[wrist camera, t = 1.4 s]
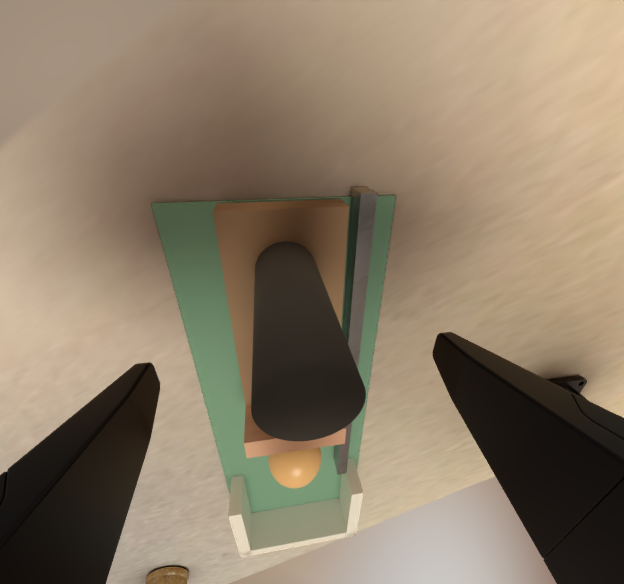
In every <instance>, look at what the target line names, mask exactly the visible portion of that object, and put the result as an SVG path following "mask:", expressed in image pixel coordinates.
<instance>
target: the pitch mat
mask: <svg viewBox="0 0 624 584" xmlns="http://www.w3.org/2000/svg"><path fill="white" fill-rule="evenodd" d="M328 199H342V200H343V201H344V202H345V203H346V204H347V205H348V206H349V216H348V232H347V247H346V262H345V278H344V293H343V308H342V323H341V328H342V327H343V312H344V297H345V283H346V268H347V253H348V239H349V224H350V209H351V196H348V197H318V198H288V199H259V200H229V201H200V202H170V203H152V204H151V206H152V209H153V213H154V217H155V220H156V224H157V228H158V231H159V235H160V239H161V242H162V246H163V250H164V253H165V257H166V261H167V265H168V268H169V272H170V276H171V279H172V283H173V287H174V290H175V294H176V298H177V301H178V305H179V309H180V312H181V316H182V320H183V323H184V327H185V331H186V334H187V338H188V342H189V345H190V349H191V353H192V356H193V360H194V364H195V367H196V371H197V375H198V378H199V382H200V386H201V389H202V393H203V397H204V400H205V404H206V408H207V412H208V415H209V419H210V423H211V426H212V430H213V434H214V437H215V441H216V445H217V448H218V452H219V456H220V459H221V463H222V467H223V470H224V474H225V478H226V481H227V485H228V489H229V492H230V489H231V477H234V476H240V475H243V477H244V482H245V486H246V491H247V496H248V500H249V505H250V510H251V513H256V512H262V511H268V510H273V509H279V508H285V507H290V506H296V505H302V504H308V503H313V502H319V501H325V500H330V499H336V498H339V495H340V485H341V475H342V474H339V475H337V471H336V466H335V462H334V445H333V446H326V447H320V449H321V465H320V469H319V471H318V473H317V475H316V477H315V478H314V479H313V480H312V481H311V482H310V483H309V484H307V485H306V486H304V487H301V488H294V489H293V488H287V487H285V486H283V485H281V484H280V483H278V482H277V481H276V480H275V478H274V477H273V475H272V473H271V471H270V468H269V464H268V455H266V456H259V457H253V458H247V457H246V452H245V447H244V430H245V408H246V406H245V400H244V394H243V389H242V383H241V377H240V371H239V365H238V359H237V353H236V347H235V341H234V336H233V330H232V324H231V318H230V312H229V306H228V300H227V294H226V288H225V283H224V277H223V271H222V265H221V259H220V253H219V247H218V241H217V235H216V229H215V224H214V218H213V210H214V208H215V206H216V204H217V203H242V202H271V201H300V200H328ZM395 200H396V195H377V203H376V212H375V221H374V230H373V239H372V248H371V257H370V266H369V275H368V284H367V293H366V302H365V311H364V320H363V329H362V338H361V347H360V356H359V365H358V371H359V373H360V376H361V379H362V381H363V384H364V386H365V390H366V399H365V403H364V406H363V408H362V410H361V412H360V413H359V415H358V416H357V417H356V418H355V419H354V420H353V421H352V428H351V436H350V445H349V454H348V458H354V461H355V465H356V468H357V466H358V459H359V452H360V445H361V438H362V431H363V424H364V417H365V410H366V403H367V396H368V389H369V382H370V375H371V368H372V361H373V354H374V347H375V340H376V333H377V326H378V319H379V312H380V305H381V298H382V291H383V284H384V277H385V270H386V263H387V256H388V249H389V242H390V235H391V228H392V221H393V214H394V207H395Z"/></svg>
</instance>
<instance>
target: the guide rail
mask: <svg viewBox="0 0 624 584" xmlns="http://www.w3.org/2000/svg"><path fill="white" fill-rule="evenodd" d="M377 195H378V193H377V192H375V191H374V190H372V189H371V188H369V187H352V195H351V209H350V224H349V239H348V253H347V268H346V283H345V297H344V312H343V327H342V331H343V333H344V336H345V338H346V341H347V343H348V346H349V348H350V351H351V353H352V356H353V358H354V361H355V363H356V366H357V368H358V365H359V356H360V347H361V338H362V329H363V320H364V311H365V302H366V293H367V284H368V275H369V266H370V257H371V248H372V239H373V230H374V221H375V212H376V203H377ZM351 428H352V422H351V423H350V424H349V425H347V426H346V437H345V444H340V445H334V462H335V466H336V471H337V475H339V474H345V473H346V472H347V463H348V454H349V445H350V436H351Z"/></svg>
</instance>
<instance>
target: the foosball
mask: <svg viewBox="0 0 624 584" xmlns="http://www.w3.org/2000/svg"><path fill="white" fill-rule="evenodd" d="M268 464H269V468H270V471H271V473H272V475H273V477H274V478H275V480H276V481H277V482H278V483H280V484H281V485H283V486H285V487H287V488H293V489H294V488H301V487H304V486H306V485H307V484H309V483H310V482H311V481H312V480H313V479H314V478H315V477H316V475H317V473H318V471H319V469H320V465H321V449H320V448H313V449H306V450H299V451H293V452H286V453H279V454H273V455H268Z"/></svg>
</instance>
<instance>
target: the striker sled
mask: <svg viewBox="0 0 624 584" xmlns="http://www.w3.org/2000/svg"><path fill="white" fill-rule="evenodd" d="M348 216H349V206H348V205H347V204H346V203H345V202H344V201H343V200H342V199H328V200H300V201H271V202H242V203H217V204H216V206H215V208H214V210H213V218H214V224H215V229H216V235H217V241H218V247H219V253H220V259H221V265H222V271H223V277H224V283H225V288H226V294H227V300H228V306H229V312H230V318H231V324H232V330H233V336H234V341H235V347H236V353H237V359H238V365H239V371H240V377H241V383H242V389H243V394H244V400H245V406H246V408H245V430H244V447H245V452H246V457H247V458H253V457H259V456H266V455H273V454H279V453H286V452H293V451H299V450H306V449H313V448H320V447H326V446H333V445H340V444H345V437H346V426H347V425H349V424H350V423H351V422H352V421H353V420H354V419H355V418H356V417H357V416H358V415H359V413H360V412H361V410H362V408H363V406H364V403H365V399H366V390H365V386H364V384H363V381H362V379H361V376H360V373H359V371H358V368H357V366H356V363H355V361H354V358H353V356H352V353H351V351H350V348H349V346H348V343H347V341H346V338H345V336H344V333H343V331H342V328H341V323H342V308H343V293H344V278H345V262H346V247H347V232H348Z"/></svg>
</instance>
